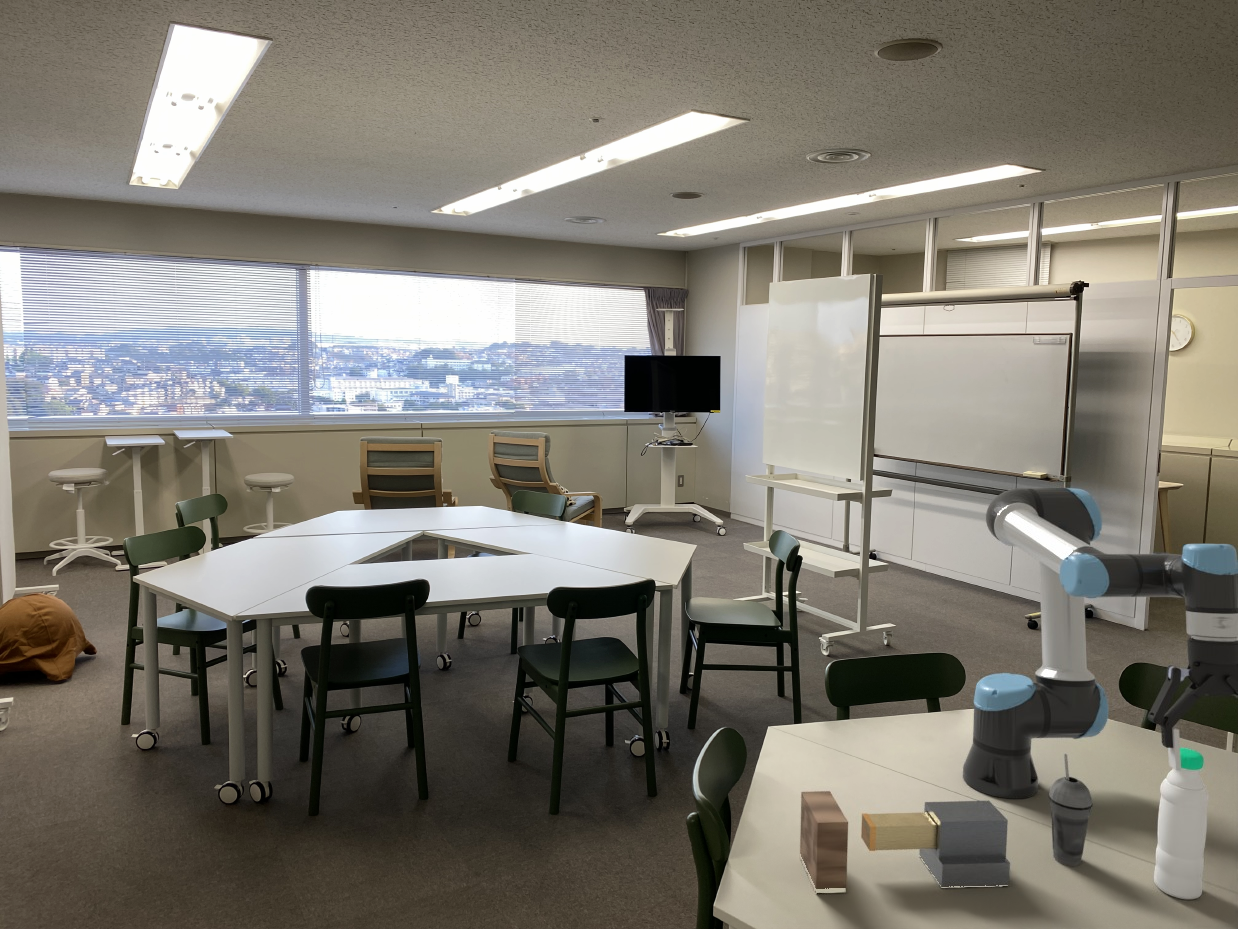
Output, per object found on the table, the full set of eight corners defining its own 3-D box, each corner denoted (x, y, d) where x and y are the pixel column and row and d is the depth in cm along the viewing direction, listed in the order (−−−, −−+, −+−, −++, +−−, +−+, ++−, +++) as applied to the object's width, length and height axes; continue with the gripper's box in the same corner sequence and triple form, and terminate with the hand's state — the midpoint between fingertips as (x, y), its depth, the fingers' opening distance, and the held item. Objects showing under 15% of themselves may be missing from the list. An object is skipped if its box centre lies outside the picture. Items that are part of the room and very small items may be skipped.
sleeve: (919, 857, 161) (921, 798, 160) (982, 855, 162) (985, 796, 161) (941, 889, 151) (944, 826, 150) (1008, 887, 152) (1011, 824, 151)
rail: (861, 837, 157) (861, 813, 157) (980, 834, 158) (981, 810, 158) (869, 851, 153) (870, 826, 152) (991, 847, 154) (992, 823, 153)
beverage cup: (1087, 875, 155) (1094, 768, 153) (1042, 862, 159) (1048, 758, 157) (1090, 855, 162) (1096, 753, 159) (1047, 844, 165) (1052, 744, 163)
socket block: (799, 858, 161) (801, 791, 159) (828, 858, 161) (829, 791, 160) (815, 894, 150) (817, 822, 148) (846, 893, 150) (848, 822, 149)
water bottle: (1186, 906, 146) (1196, 764, 144) (1144, 884, 153) (1154, 748, 150) (1210, 894, 150) (1221, 755, 147) (1168, 873, 156) (1178, 740, 153)
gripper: (1139, 639, 141) (1145, 772, 140) (1314, 642, 136) (1322, 781, 135) (1122, 633, 149) (1128, 760, 147) (1288, 636, 143) (1295, 767, 142)
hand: (1221, 770), depth 141 cm, fingers open, 13 cm apart
